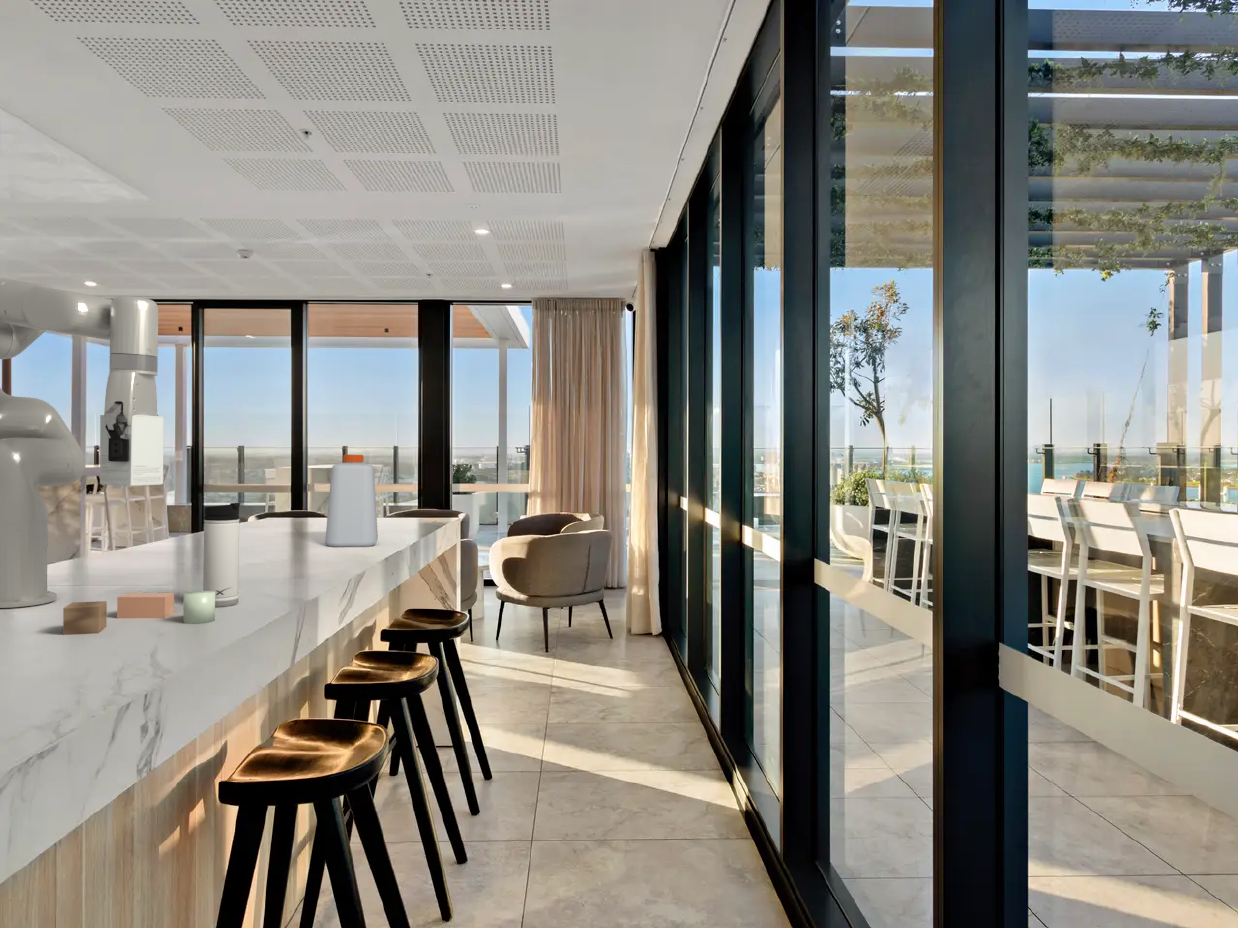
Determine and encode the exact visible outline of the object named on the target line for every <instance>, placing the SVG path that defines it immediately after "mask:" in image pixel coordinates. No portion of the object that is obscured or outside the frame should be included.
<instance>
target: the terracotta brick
mask: <svg viewBox="0 0 1238 928" xmlns="http://www.w3.org/2000/svg"><path fill="white" fill-rule="evenodd" d="M116 600H117V602H116V603H117V604H116V605H117V607H116V608H117V609H116V611H117V613H116V619H166V618H168V617H170V616H172V615H174V614H175V611H174V610H175V593H174V592H126V593H124V594H122V595H121V594H120V595H119V596H117V598H116Z"/></svg>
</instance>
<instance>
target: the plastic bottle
mask: <svg viewBox="0 0 1238 928" xmlns="http://www.w3.org/2000/svg"><path fill="white" fill-rule="evenodd" d="M342 458H343V459H342V462H339V463H335V464H333V465H332V467H331V471H330V473H331V474H330V485H329V494H328V507H327V518H326V529H325V545H326V546H329V547H332V548H355V547H356V548H363V547H364V548H366V547H368V548H369V547H373V546H376V544H377V542H378V538H379V537H378V536H379V534H378V518H377V517H378V516H377V499H376V497H377V496H376V480H375V467H374V465H373V464H371V463H365V461H364V455H363V454H344V455H343V456H342Z"/></svg>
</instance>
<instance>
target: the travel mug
mask: <svg viewBox="0 0 1238 928" xmlns="http://www.w3.org/2000/svg"><path fill="white" fill-rule="evenodd" d="M240 506H241V503H240V502H230V504H225V505H223V504H222V505H214V506H213V505H212V506H204V508H203V509H204V513H203V514H204V517H203V518H204V519H203V522H204V523H203V565H202V566H203V568H202V570H203V571H202V573H203V574H202V575H203V576H202V577H203V578H202V581H203V582H202V584H203V585H202V591H214V592H215V608H224V607H233V606H236V605H238V604H239V593H240V592H239V586H240V585H239V584H240V583H239V582H240V581H239V580H240V579H239V578H240V577H239V576H240V571H239V569H240Z"/></svg>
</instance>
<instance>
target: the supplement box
mask: <svg viewBox="0 0 1238 928" xmlns="http://www.w3.org/2000/svg"><path fill="white" fill-rule="evenodd" d="M99 418H100V424H99V425H100V427H99V433H100V436H99V437H100V439H99V452H100V453H99V485H107V486H108V485H110V486H129V487H130V486H134V487H135V486H136V487H137V486H155V485H157V486H158V485H159V486H160V485H163V484H164V425H165V424H164V419H165V418H164V416H159V415H158V416H141V415H135V416H132V422H131V425H130V426H128V435H127V437H126V439H129V461H128V462H111V461H109V460H108V444H109V439H108V438H107V433H108V431H107V429H106V427H105V426H106V425H105V423H104V414H102V415H100V417H99ZM117 422H127V418H125V416H124V415H119V416H117ZM122 429H123V428H121V430H122Z"/></svg>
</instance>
